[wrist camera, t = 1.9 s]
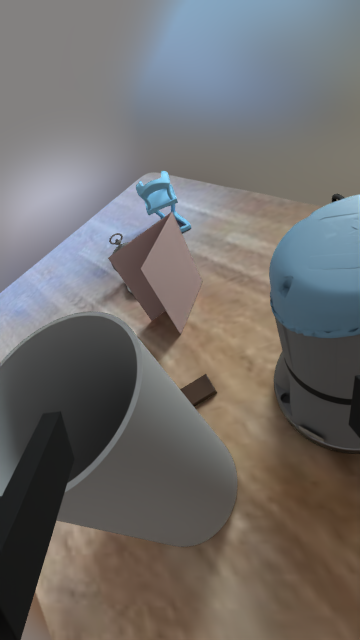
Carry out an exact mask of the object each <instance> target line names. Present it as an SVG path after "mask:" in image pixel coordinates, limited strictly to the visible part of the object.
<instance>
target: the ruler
mask: <svg viewBox="0 0 360 640" xmlns="http://www.w3.org/2000/svg"><path fill="white" fill-rule="evenodd" d="M180 390H181V391H182V393H183V394H184V395H185V396H186V398H187V399H188V400H189V401H190V403H191V404H192V405H193V406H196V405H198V404H199V403H201V402H203V401H204V400H206V399H208V398H209V397H211V396H213V395H214V394H216V393H217V392H216V390H215V389H214V387H213V385H212V383H211V382H210V380H209V378H208V377H207V375H206V374H205V375H204V376H202V377H200V378H199V379H197V380H195V381H194V382H192V383H190V384H189V385H187V386H185V387H184V388H182V389H180Z"/></svg>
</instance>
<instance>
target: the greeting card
mask: <svg viewBox="0 0 360 640" xmlns="http://www.w3.org/2000/svg"><path fill="white" fill-rule="evenodd" d="M108 259H109V260H110V261H111V263H112V264H113V266H114V267H115V269H116V270H117V272H118V273H119V274H120V276H121V277H122V279H123V280H124V282H125V283H126V285H127V286H128V287H129V289H130V290H131V292H132V293H133V295H134V296H135V297H136V299H137V300H138V302H139V303H140V305H141V306H142V308H143V309H144V310H145V312H146V313H147V315H148V316H149V318H150V319H151V321H152V320H154V319H155V318H156V317H158V316H159V315H160V314H161V313H163V312H164V311H165V310H166V312H167V313H168V315H169V317H170V318H171V320H172V321H173V323H174V325H175V326H176V328H177V330H178V331H179V333H180V334H181V333H182V330H183V328H184V326H185V323H186V321H187V318H188V316H189V313H190V311H191V309H192V306H193V304H194V301H195V299H196V296H197V294H198V292H199V289H200V287H201V284H202V279H201V277H200V275H199V272H198V270H197V268H196V265H195V263H194V261H193V258H192V256H191V254H190V251H189V249H188V247H187V244H186V242H185V240H184V237H183V235H182V233H181V230H180V228H179V226H178V223H177V221H176V219H175V216H174V214H173V212H171V213H169V214H168V215H167V216H165V217H164V218H162V219H161V220H160V221H158V222H157V223H156V224H154V225H153V226H151V227H150V228H149V229H147V230H146V231H145V232H143V233H142V234H140V235H139V236H138V237H136V238H135V239H134V240H132V241H131V242H129V243H128V244H127V245H125V246H124V247H123V248H121V249H120V250H118V251H117V252H116V253H114V254H113V255H111V256H110V257H109V258H108Z"/></svg>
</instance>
